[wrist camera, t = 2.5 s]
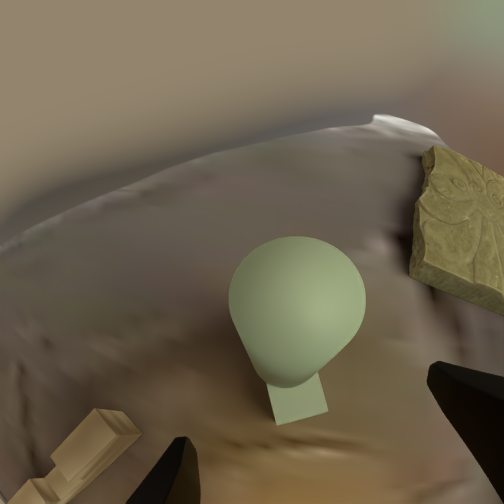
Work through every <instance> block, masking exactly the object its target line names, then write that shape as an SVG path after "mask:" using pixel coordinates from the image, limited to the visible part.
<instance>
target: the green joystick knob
mask: <svg viewBox="0 0 504 504" xmlns="http://www.w3.org/2000/svg"><path fill="white" fill-rule="evenodd" d="M228 302H229V310H230V314H231V317H232V320H233V322H234V325H235V327H236V329H237V331H238V334H239V336H240V338H241V340H242V343H243V345H244V347H245V349H246V351H247V354H248V356H249V358H250V360H251V362H252V364H253V367H254V369H255V371H256V372H257V374H258V375H259V377H260V378H261V379H262V380H264V381H265V382H266V384H267V388H268V392H269V396H270V401H271V405H272V409H273V413H274V417H275V421H276V425H281V424H285V423H289V422H293V421H297V420H300V419H304V418H308V417H311V416H315V415H318V414H321V413H324V412H328V408H327V404H326V401H325V397H324V393H323V390H322V386H321V383H320V379H319V376H318V371H319V370H320V369H321V368H322V367H323V366H324V365H325V364H327V363H328V362H329V361H330V360H331V359H332V358H333V357H334V356H335V355H336V354H337V353H338V352H339V351H340V350H341V349H342V348H343V347H344V346H345V345H346V344H348V343H349V342H350V341H351V339H352V338H353V337H354V335H355V334H356V332H357V331H358V329H359V327H360V325H361V322H362V320H363V317H364V313H365V306H366V295H365V289H364V284H363V281H362V278H361V276H360V274H359V272H358V270H357V269H356V267H355V266H354V264H353V263H352V262H351V261H350V259H349V258H348V257H347V256H346V255H345V254H343V253H342V252H341V251H340V250H338V249H337V248H335V247H334V246H332V245H330V244H328V243H326V242H323V241H321V240H318V239H314V238H309V237H301V236H292V237H283V238H278V239H275V240H272V241H269V242H267V243H264V244H263V245H261V246H259V247H257V248H256V249H254V250H253V251H252V252H250V253H249V254H248V255H247V256H246V257H245V258H244V259H243V261H242V262H241V263H240V264H239V266H238V267H237V269H236V271H235V273H234V275H233V277H232V280H231V283H230V288H229V299H228Z"/></svg>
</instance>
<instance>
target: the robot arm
mask: <svg viewBox="0 0 504 504" xmlns="http://www.w3.org/2000/svg"><path fill="white" fill-rule="evenodd" d="M427 385H428V387H429V389H430V391H431V392H432V394H433V396H434V398H435V399H436V401H437V403H438V405H439V406H440V408H441V410H442V412H443V413H444V415H445V416H446V417H447V419H448V420H449V422H450V423H451V424H452V426H453V427H454V429H455V430H456V431H457V433H458V434H459V436H460V437H461V438H462V440H463V441H464V443H465V444H466V446H467V447H468V449H469V450H470V451H471V453H472V454H473V456H474V457H475V459H476V460H477V462H478V463H479V465H480V466H481V468H482V470H483V471H484V473H485V474H486V476H487V477H488V479H489V481H490V482H491V484H492V486H493V487H494V489H495V490H496V492H497V494H498V495H499V497H500V499H501V500H502V502H503V504H504V377H502V376H498V375H494V374H489V373H485V372H481V371H477V370H473V369H469V368H465V367H461V366H457V365H453V364H450V363H446V362H442V361H437V362H435V363H433V364H431V365H430V367H429V371H428V376H427ZM200 496H201V490H200V479H199V469H198V459H197V452H196V449H195V448H194V446H193V444H192V443H191V441H190V439H189V438H188V437H186V436H184V437H176V438H175V439H174V440H173V442H172V443H171V444H170V446H169V447H168V448H167V450H166V451H165V453H164V454H163V455H162V457H161V458H160V459H159V461H158V462H157V463H156V465H155V466H154V467H153V468H152V470H151V471H150V472H149V474H148V475H147V476H146V478H145V479H144V480H143V481H142V483H141V484H140V485H139V487H138V488H137V489H136V490H135V492H134V493H133V494H132V495H131V497H130V498H129V499H128V500H127V502H126V504H200Z"/></svg>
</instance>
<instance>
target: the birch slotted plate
mask: <svg viewBox="0 0 504 504" xmlns="http://www.w3.org/2000/svg"><path fill="white" fill-rule="evenodd" d="M142 434H143V433H142V432H141V431H140V430H139V429H138V428H137V427H136V426H135V425H134V424H133V422H132V421H131V420H130V419H129V418H128V417H127V416H126V414H125V413H124V412H123V411H115V410H106V409H98V408H94V409H93V410H92V411H91V412H90V414H89V415H88V416H87V417H86V418H85V419H84V420H83V421H82V422H81V423H80V424H79V425H78V426H77V427H76V429H75V430H74V431H73V432H72V433H71V434H70V435H69V436H68V437H67V438H66V439H65V440H64V442H63V443H62V444H61V445H60V446H59V447H58V448H57V449H56V450H55V451H54V452H53V453H52V455H51V456H50V457H51V458H52V460H53V461H54V463H55V464H56V467H55V468H54V469H53V470H52V471H51V472H50V473H49V474H48V475H47V476H46V477H45V478H35V479H29V480H28V481H27V482H26V483H25V484H24V485H23V486H22V487H21V488H20V490H19V491H18V492H17V493H16V494H15V495H14V496H13V497H12V498H11V499H10V501H9V502H8V504H67V503H68V502H69V501H70V500H71V499H73V498H74V497H75V496H76V495H77V494H78V493H80V492H81V491H82V490H83V489H84V488H85V487H86V486H88V485H89V484H90V483H91V482H92V481H93V480H94V479H95V478H96V477H98V476H99V475H100V474H101V473H102V472H103V471H104V470H105V469H106V468H107V467H108V466H109V465H111V464H112V463H113V462H114V461H115V460H116V459H117V458H118V457H119V456H120V455H121V454H122V453H123V452H124V451H125V450H126V449H127V448H128V447H130V446H131V445H132V444H133V443H134V442H135V441H136V440H137V439H138V438H139V437H140V436H141V435H142Z"/></svg>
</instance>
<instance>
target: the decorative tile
mask: <svg viewBox="0 0 504 504" xmlns="http://www.w3.org/2000/svg"><path fill="white" fill-rule="evenodd" d="M422 166H423V169H424V172H425V179H424V184H423V185H422V186H421V189H422V194H421V197H420V198H419V199H418V200H417V201H416V202H415V213H414V216H413V217H414V221H413V235H414V236H413V244H412V251H413V252H412V255H411V258H410V265H409V276H410V277H411V278H413V279H415V280H418V281H420V282H423V283H425V284H428V285H430V286H432V287H435V288H437V289H440V290H442V291H445V292H447V293H449V294H452V295H454V296H457V297H459V298H461V299H464V300H466V301H468V302H471V303H473V304H476V305H478V306H481V307H483V308H486V309H488V310H491V311H493V312H495V313H498V314H500V315H502V316H504V178H503V177H502V176H500V175H498V174H496V173H494V172H493V171H491V170H490V169H487V168H486V167H483V166H482V165H481V164H479V163H477V162H475V161H473V160H470V159H467V158H465V157H464V156H463V155H461V154H459V153H456V152H454V151H452V150H449V149H445V148H441V147H438V146H435V145H433V146H432V148H430V150H429V151H424V152H423V156H422Z"/></svg>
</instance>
